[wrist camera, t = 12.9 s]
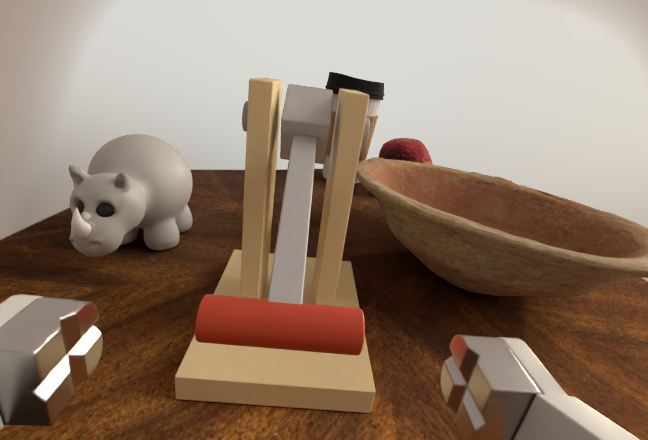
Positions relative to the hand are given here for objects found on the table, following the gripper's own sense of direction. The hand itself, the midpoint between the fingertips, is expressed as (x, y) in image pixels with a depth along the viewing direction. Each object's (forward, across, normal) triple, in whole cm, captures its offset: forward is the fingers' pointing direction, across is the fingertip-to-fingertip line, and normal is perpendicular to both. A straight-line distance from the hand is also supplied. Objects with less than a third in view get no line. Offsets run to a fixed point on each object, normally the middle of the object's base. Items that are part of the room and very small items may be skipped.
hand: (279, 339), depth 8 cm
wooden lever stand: (+11, 0, +8) cm, 14 cm away
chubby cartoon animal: (+18, +12, +9) cm, 23 cm away
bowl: (+20, -16, +9) cm, 27 cm away
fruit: (+41, -14, +9) cm, 44 cm away
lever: (+8, 0, 0) cm, 8 cm away
